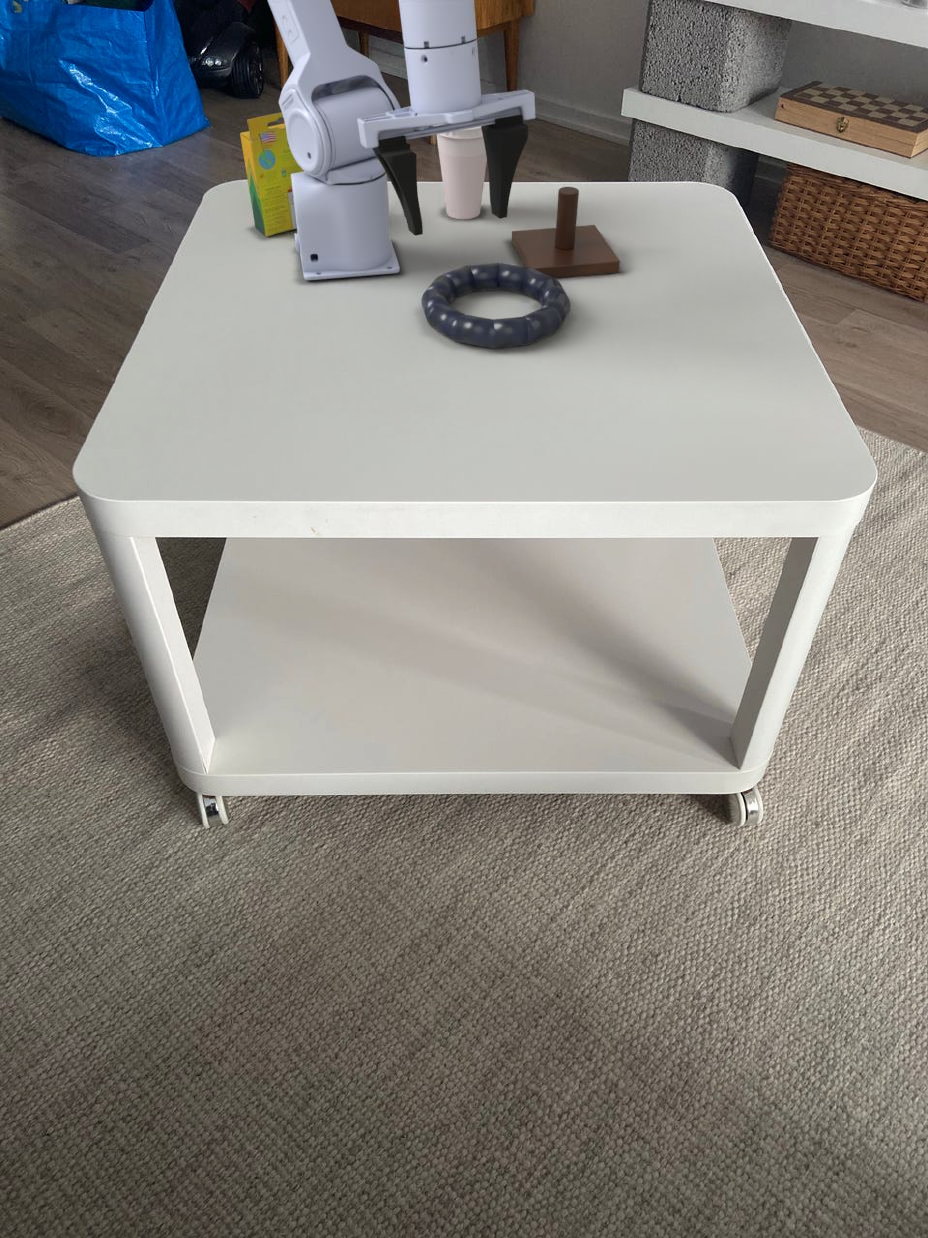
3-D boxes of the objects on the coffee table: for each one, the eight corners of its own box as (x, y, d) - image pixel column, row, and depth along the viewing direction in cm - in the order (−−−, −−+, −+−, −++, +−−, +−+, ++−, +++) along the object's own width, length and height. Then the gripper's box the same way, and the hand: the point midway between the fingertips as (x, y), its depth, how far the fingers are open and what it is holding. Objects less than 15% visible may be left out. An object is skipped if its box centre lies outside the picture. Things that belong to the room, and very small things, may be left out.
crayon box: (315, 213, 107) (303, 98, 99) (327, 222, 105) (316, 106, 97) (253, 228, 104) (235, 110, 96) (264, 237, 103) (247, 119, 94)
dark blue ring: (436, 358, 85) (436, 332, 83) (413, 289, 94) (412, 265, 93) (584, 344, 87) (586, 319, 85) (547, 277, 96) (549, 254, 94)
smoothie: (436, 200, 110) (434, 62, 100) (493, 201, 110) (496, 63, 100) (432, 223, 105) (429, 81, 95) (491, 224, 105) (494, 82, 95)
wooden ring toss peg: (531, 280, 96) (534, 211, 91) (511, 242, 102) (513, 176, 97) (619, 272, 97) (627, 204, 92) (593, 235, 103) (600, 170, 98)
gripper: (363, 63, 71) (389, 252, 79) (546, 33, 74) (553, 218, 82) (341, 52, 76) (368, 230, 85) (513, 25, 79) (523, 200, 87)
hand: (458, 223), depth 84 cm, fingers open, 7 cm apart
